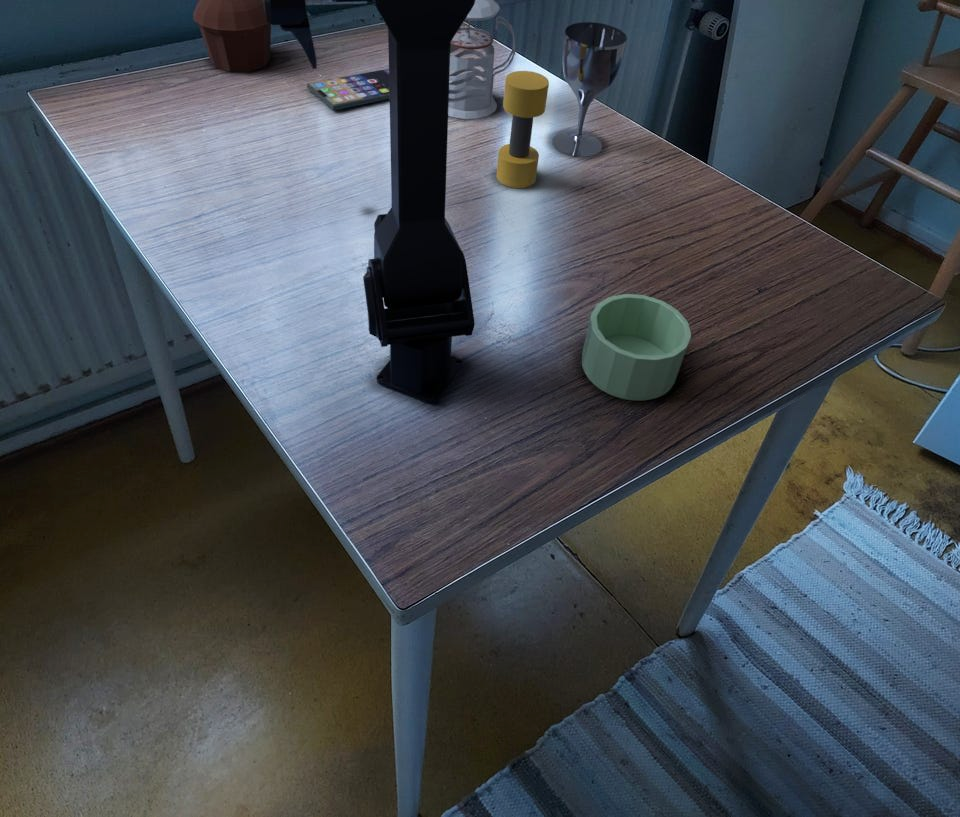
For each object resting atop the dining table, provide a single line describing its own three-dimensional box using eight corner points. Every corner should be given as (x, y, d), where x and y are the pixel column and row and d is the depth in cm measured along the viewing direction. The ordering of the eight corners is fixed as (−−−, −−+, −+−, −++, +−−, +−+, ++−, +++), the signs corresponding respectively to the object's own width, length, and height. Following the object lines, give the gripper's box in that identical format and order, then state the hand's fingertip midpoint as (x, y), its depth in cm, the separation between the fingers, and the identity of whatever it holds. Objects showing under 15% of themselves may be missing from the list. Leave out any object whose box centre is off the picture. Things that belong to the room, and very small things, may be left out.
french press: (431, 87, 120) (436, -103, 102) (507, 91, 121) (525, -97, 103) (431, 117, 113) (436, -80, 95) (511, 121, 114) (531, -74, 96)
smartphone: (422, 92, 118) (422, 84, 117) (333, 113, 112) (332, 105, 111) (394, 71, 123) (394, 63, 122) (307, 90, 116) (306, 82, 115)
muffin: (212, 80, 116) (199, 9, 109) (192, 51, 122) (179, -19, 115) (289, 69, 120) (282, -1, 113) (266, 41, 127) (258, -27, 120)
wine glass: (539, 147, 109) (555, 36, 98) (562, 125, 114) (579, 17, 103) (592, 164, 107) (613, 52, 96) (613, 140, 112) (635, 32, 101)
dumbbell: (526, 192, 101) (539, 93, 91) (490, 181, 102) (498, 82, 93) (541, 174, 104) (555, 77, 95) (505, 163, 105) (515, 66, 96)
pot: (662, 413, 75) (676, 372, 71) (568, 380, 77) (577, 338, 73) (686, 354, 81) (700, 312, 77) (598, 324, 84) (608, 283, 80)
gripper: (433, -124, 80) (422, 16, 93) (245, -127, 76) (261, 21, 89) (458, -59, 75) (442, 79, 89) (258, -58, 71) (273, 87, 84)
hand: (355, 64), depth 88 cm, fingers open, 9 cm apart
